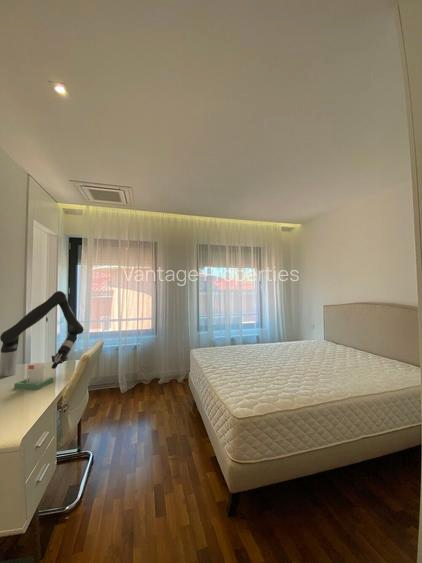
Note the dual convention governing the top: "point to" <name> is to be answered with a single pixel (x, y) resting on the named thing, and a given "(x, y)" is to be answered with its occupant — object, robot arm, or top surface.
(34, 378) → the foam cup
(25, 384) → the green pocket
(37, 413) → the top surface
